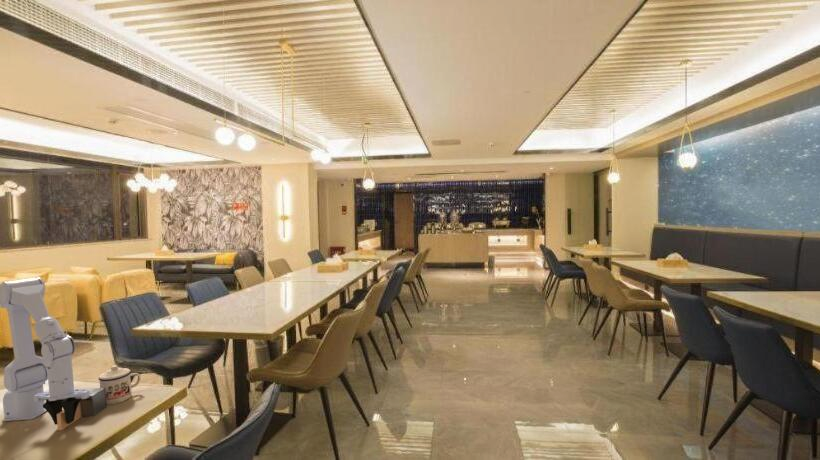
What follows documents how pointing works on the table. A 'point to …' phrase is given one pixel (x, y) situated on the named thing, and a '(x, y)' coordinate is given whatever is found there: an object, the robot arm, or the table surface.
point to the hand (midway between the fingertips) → (64, 422)
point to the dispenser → (93, 402)
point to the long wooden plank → (62, 420)
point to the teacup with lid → (117, 384)
